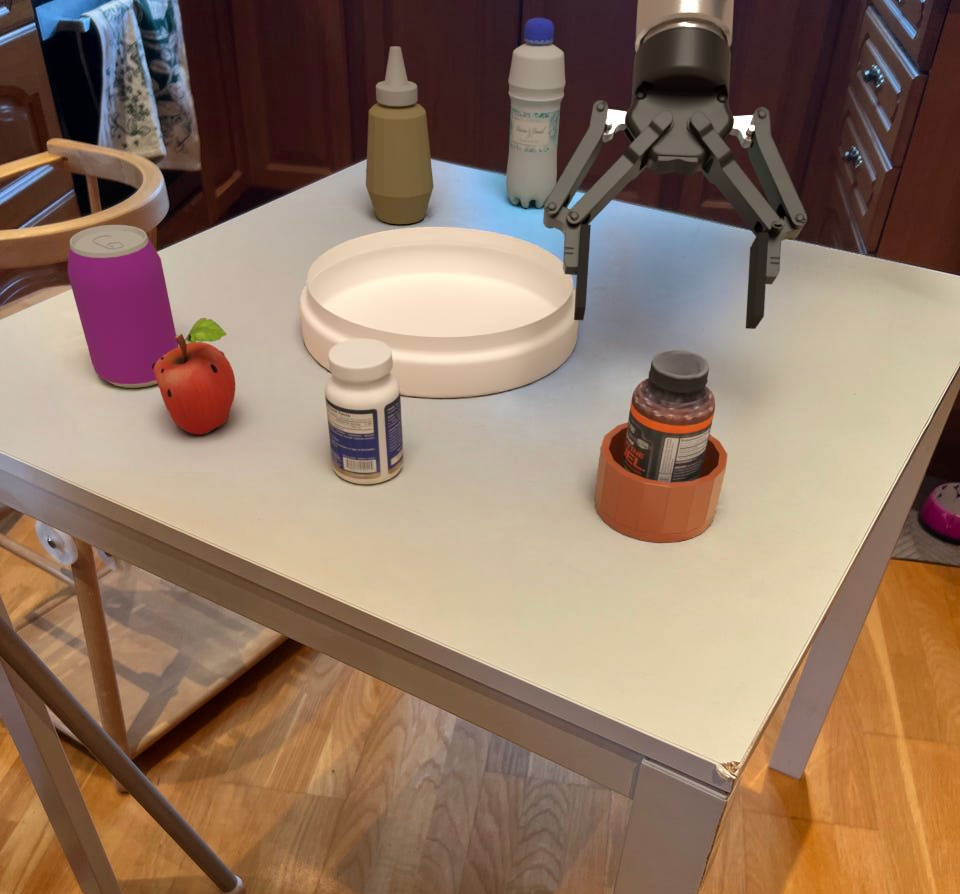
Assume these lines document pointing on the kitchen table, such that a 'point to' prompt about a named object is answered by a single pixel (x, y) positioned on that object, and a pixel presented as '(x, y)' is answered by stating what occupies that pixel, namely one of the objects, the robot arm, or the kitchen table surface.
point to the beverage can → (121, 303)
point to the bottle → (534, 114)
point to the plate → (444, 308)
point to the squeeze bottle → (398, 148)
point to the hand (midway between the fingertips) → (666, 318)
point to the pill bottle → (364, 412)
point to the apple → (197, 380)
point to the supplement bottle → (670, 419)
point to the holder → (656, 495)
